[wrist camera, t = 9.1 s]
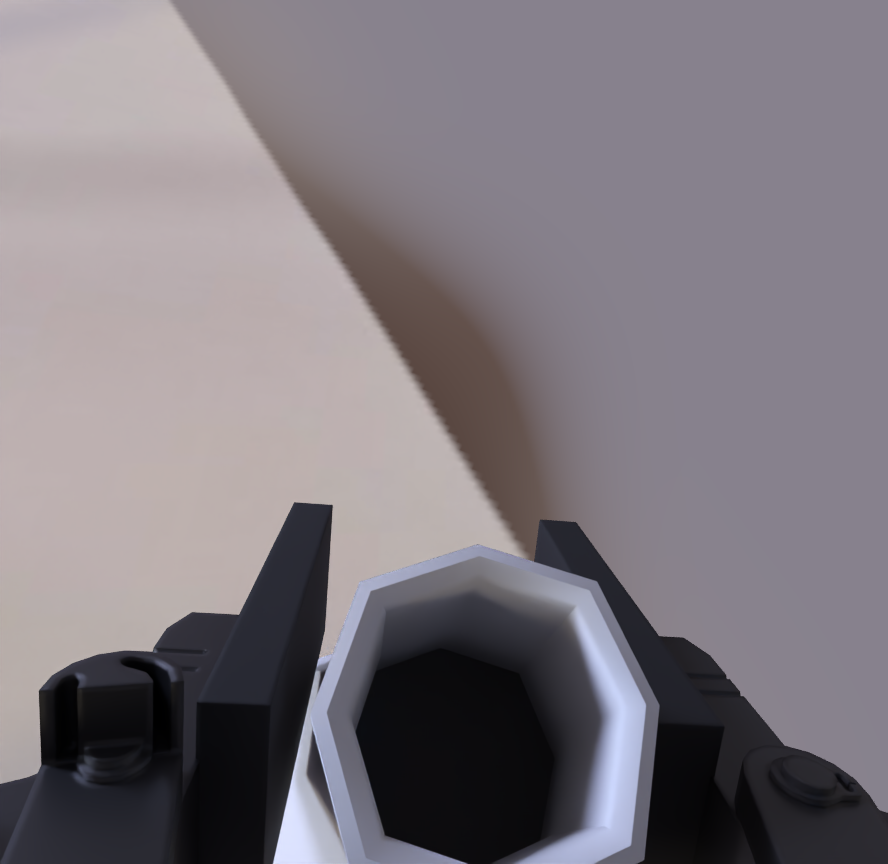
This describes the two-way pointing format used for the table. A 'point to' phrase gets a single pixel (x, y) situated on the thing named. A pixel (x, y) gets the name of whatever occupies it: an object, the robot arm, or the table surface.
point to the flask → (474, 724)
